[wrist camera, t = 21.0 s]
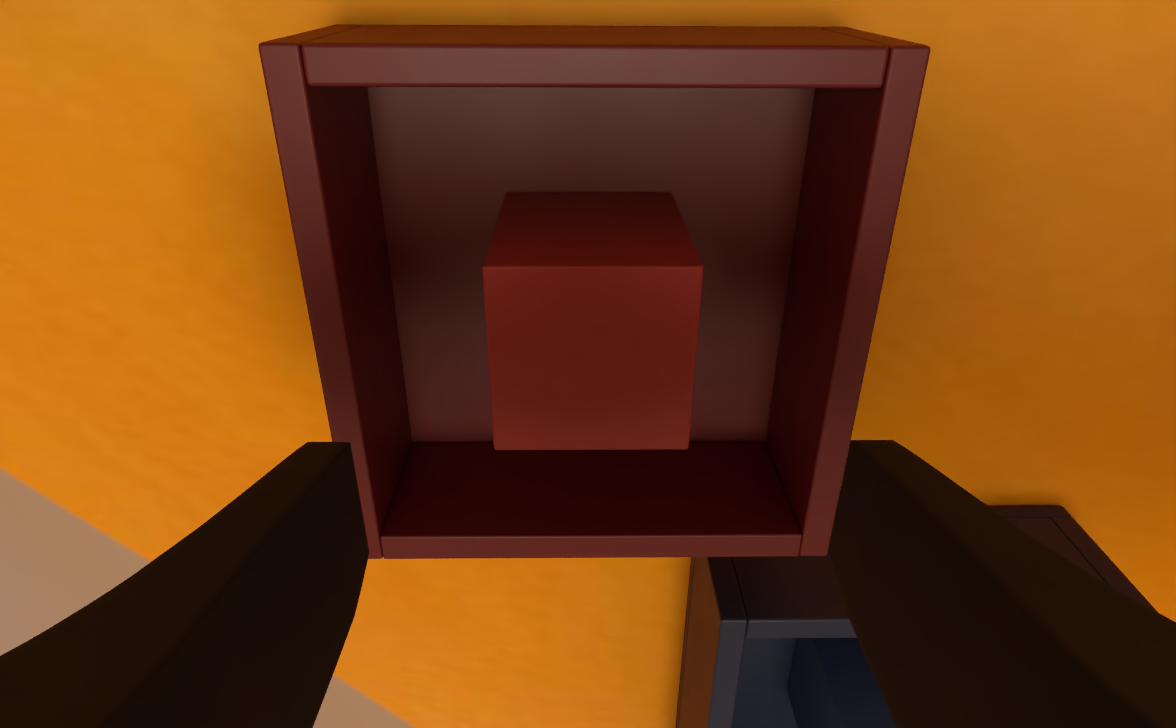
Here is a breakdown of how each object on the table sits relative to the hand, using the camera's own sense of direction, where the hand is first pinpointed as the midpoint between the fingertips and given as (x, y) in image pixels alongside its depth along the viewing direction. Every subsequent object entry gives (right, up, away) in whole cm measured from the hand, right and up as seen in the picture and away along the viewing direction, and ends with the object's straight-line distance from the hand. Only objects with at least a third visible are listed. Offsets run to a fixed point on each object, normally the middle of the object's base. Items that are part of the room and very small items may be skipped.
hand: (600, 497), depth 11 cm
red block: (0, +4, +8) cm, 9 cm away
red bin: (0, +4, +8) cm, 9 cm away
